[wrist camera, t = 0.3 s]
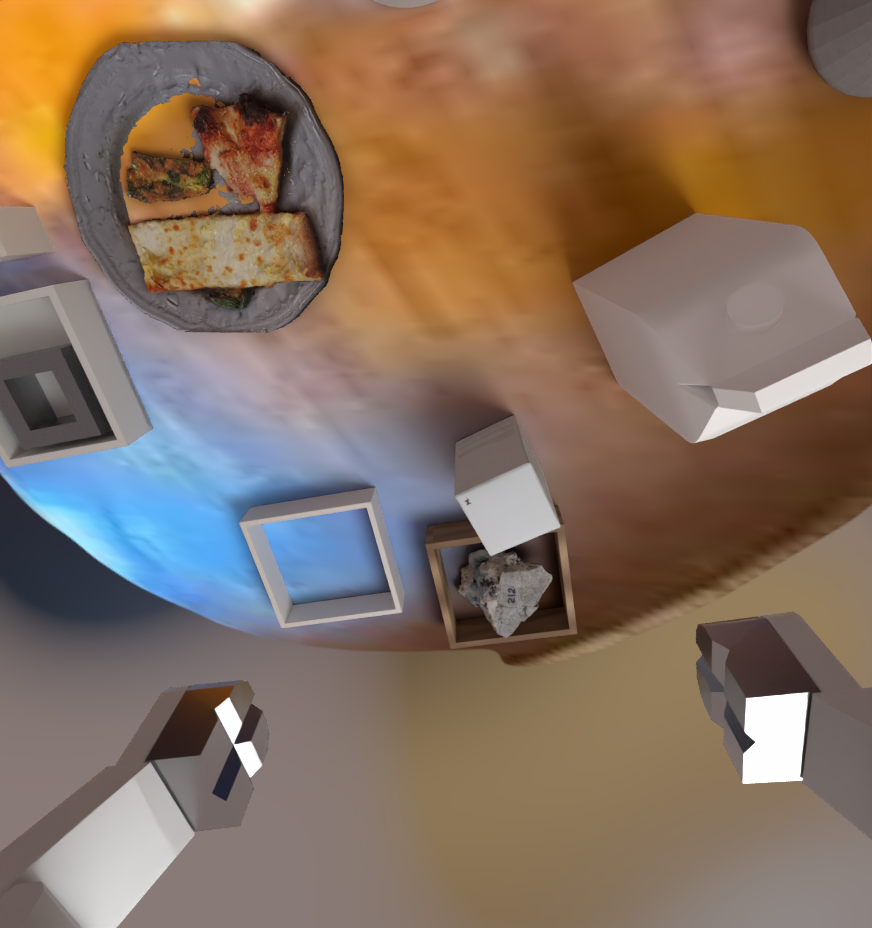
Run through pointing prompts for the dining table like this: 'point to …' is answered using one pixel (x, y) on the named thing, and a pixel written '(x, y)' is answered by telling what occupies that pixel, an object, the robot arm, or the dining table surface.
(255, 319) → the food plate
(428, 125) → the dining table surface
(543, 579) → the mineral specimen
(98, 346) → the walled box
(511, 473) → the supplement box
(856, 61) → the coffee pot
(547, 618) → the stand rim
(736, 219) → the milk
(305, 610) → the open square frame
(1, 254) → the connector
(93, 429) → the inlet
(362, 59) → the dining table surface
